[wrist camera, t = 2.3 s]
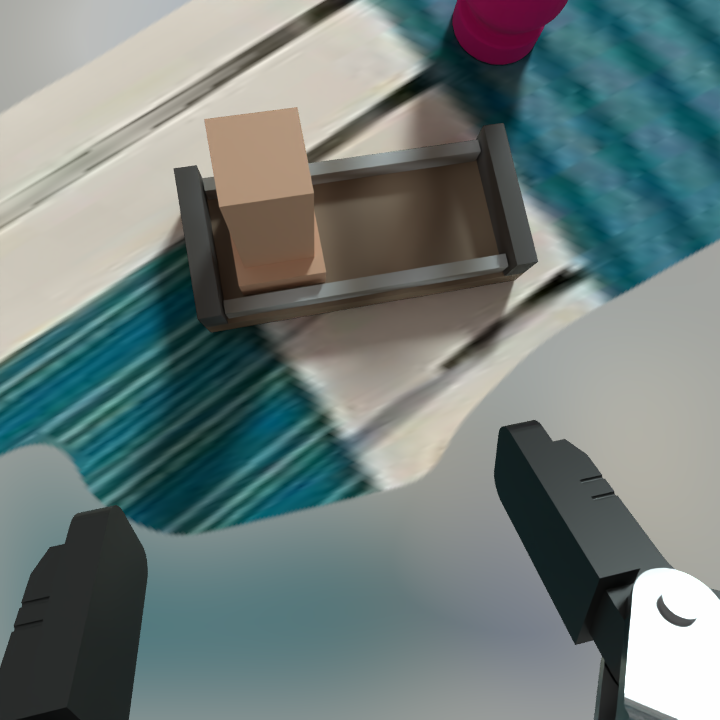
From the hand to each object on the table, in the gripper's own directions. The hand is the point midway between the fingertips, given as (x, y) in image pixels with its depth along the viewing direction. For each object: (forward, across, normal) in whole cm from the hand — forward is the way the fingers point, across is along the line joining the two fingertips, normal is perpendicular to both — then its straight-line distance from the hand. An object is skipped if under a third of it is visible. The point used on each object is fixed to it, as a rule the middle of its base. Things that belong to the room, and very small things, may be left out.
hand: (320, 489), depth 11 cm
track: (+24, -5, +6) cm, 26 cm away
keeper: (+23, 0, +4) cm, 24 cm away
